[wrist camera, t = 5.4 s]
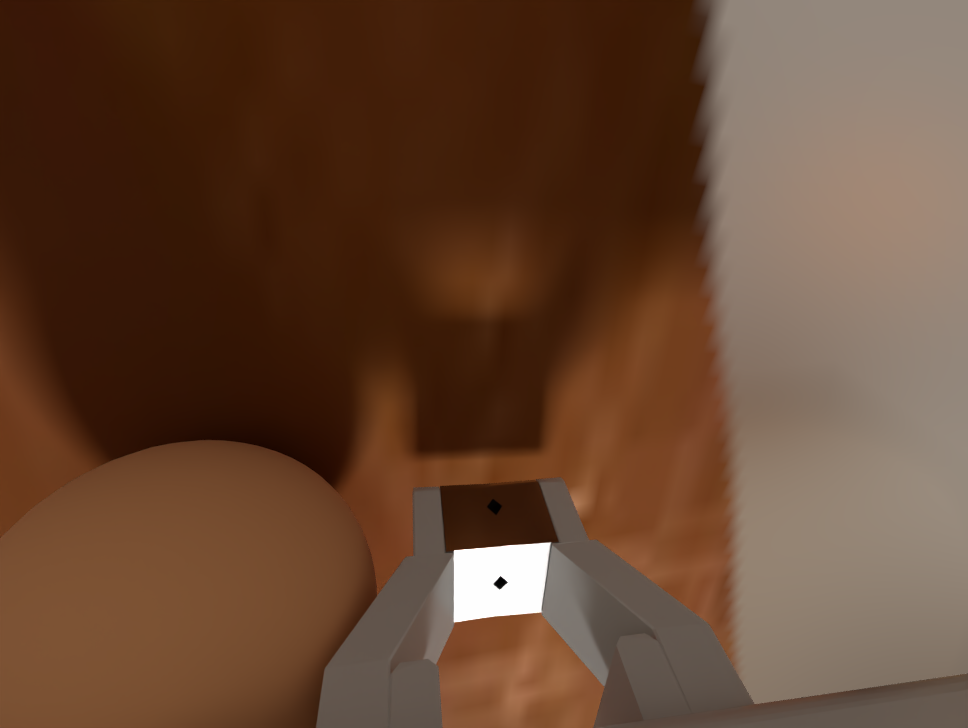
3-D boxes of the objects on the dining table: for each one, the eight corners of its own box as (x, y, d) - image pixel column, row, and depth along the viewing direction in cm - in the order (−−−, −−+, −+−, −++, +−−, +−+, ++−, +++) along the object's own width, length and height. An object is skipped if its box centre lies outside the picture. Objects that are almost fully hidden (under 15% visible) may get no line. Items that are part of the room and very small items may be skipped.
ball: (142, 594, 11) (-75, 986, 6) (46, 381, 8) (-470, 774, 4) (393, 574, 12) (376, 913, 7) (376, 372, 9) (330, 689, 4)
